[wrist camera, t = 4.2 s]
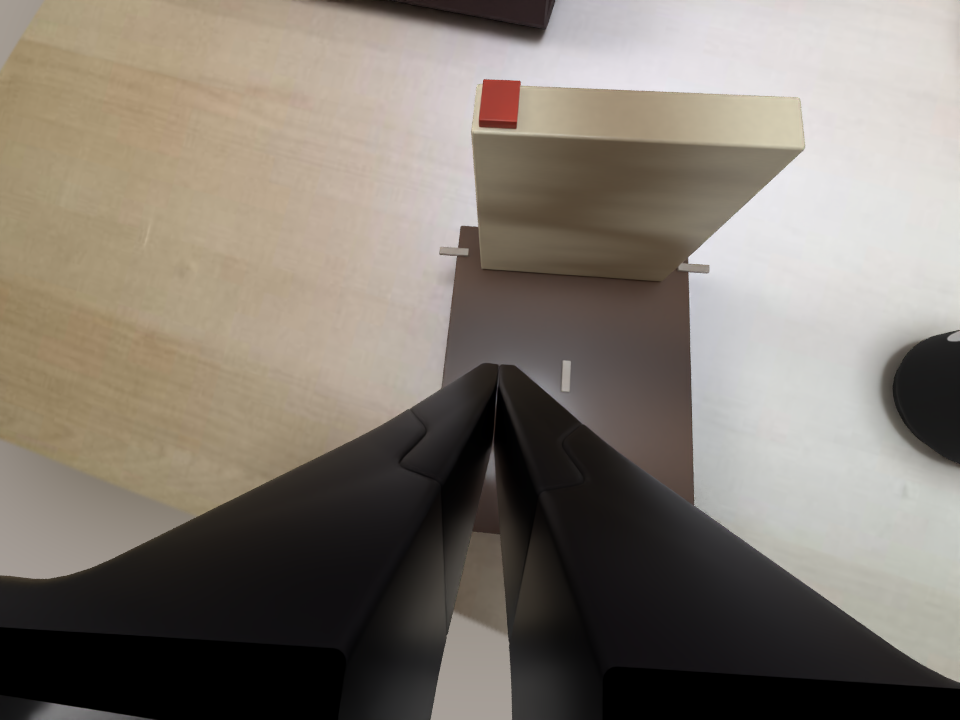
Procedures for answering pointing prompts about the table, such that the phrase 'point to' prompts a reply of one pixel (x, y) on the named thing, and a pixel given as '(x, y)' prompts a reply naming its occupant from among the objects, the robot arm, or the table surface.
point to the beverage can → (932, 393)
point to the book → (496, 9)
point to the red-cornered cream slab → (618, 174)
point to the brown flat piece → (583, 356)
